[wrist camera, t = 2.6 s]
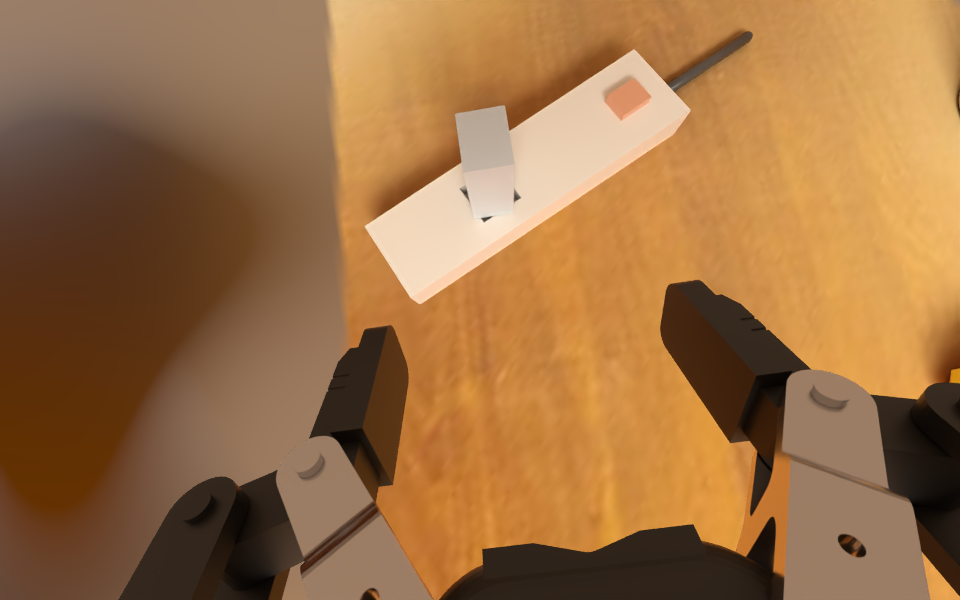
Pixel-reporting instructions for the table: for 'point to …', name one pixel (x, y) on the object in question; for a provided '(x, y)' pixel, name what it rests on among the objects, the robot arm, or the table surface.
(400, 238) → the power strip
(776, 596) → the robot arm
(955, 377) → the yellow banana
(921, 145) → the table surface
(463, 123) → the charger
